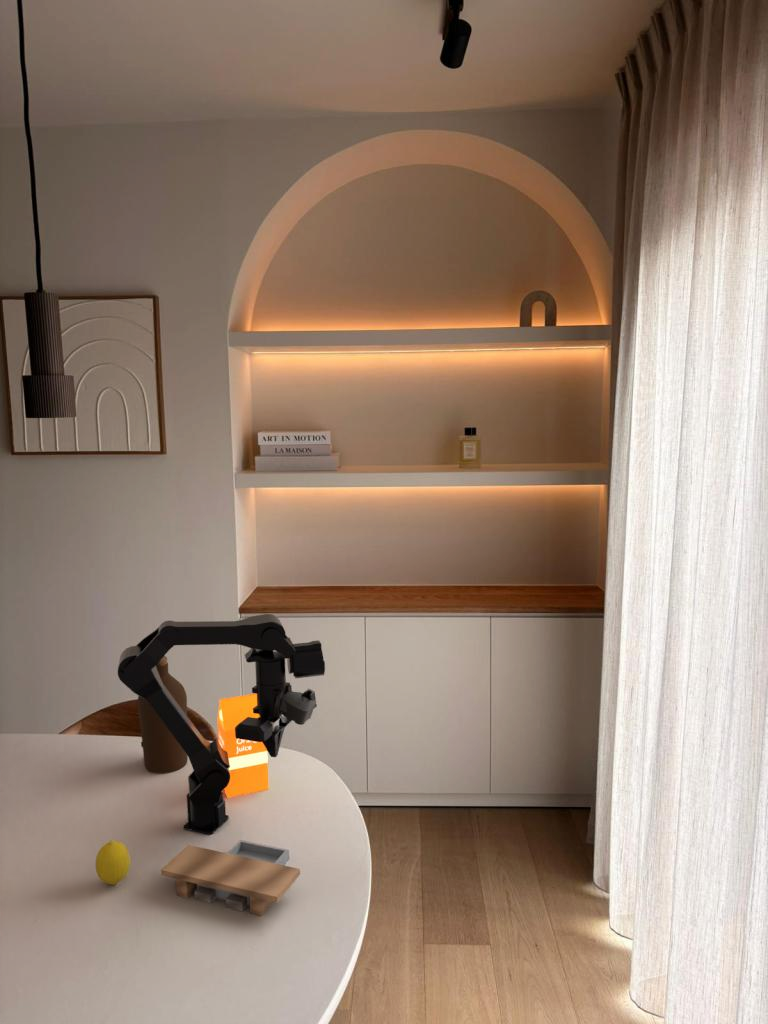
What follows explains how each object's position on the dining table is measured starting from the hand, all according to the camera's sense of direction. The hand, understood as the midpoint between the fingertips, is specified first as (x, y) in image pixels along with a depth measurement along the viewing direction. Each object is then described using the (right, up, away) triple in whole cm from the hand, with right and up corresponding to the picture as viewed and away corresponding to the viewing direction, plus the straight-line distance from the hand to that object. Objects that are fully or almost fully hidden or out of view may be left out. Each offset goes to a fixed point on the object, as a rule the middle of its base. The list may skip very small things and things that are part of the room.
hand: (274, 756), depth 159 cm
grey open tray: (-3, -15, -19) cm, 24 cm away
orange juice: (-8, -11, +13) cm, 19 cm away
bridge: (-4, -16, -23) cm, 28 cm away
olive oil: (-28, -9, +24) cm, 38 cm away
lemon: (-25, -16, -21) cm, 36 cm away
